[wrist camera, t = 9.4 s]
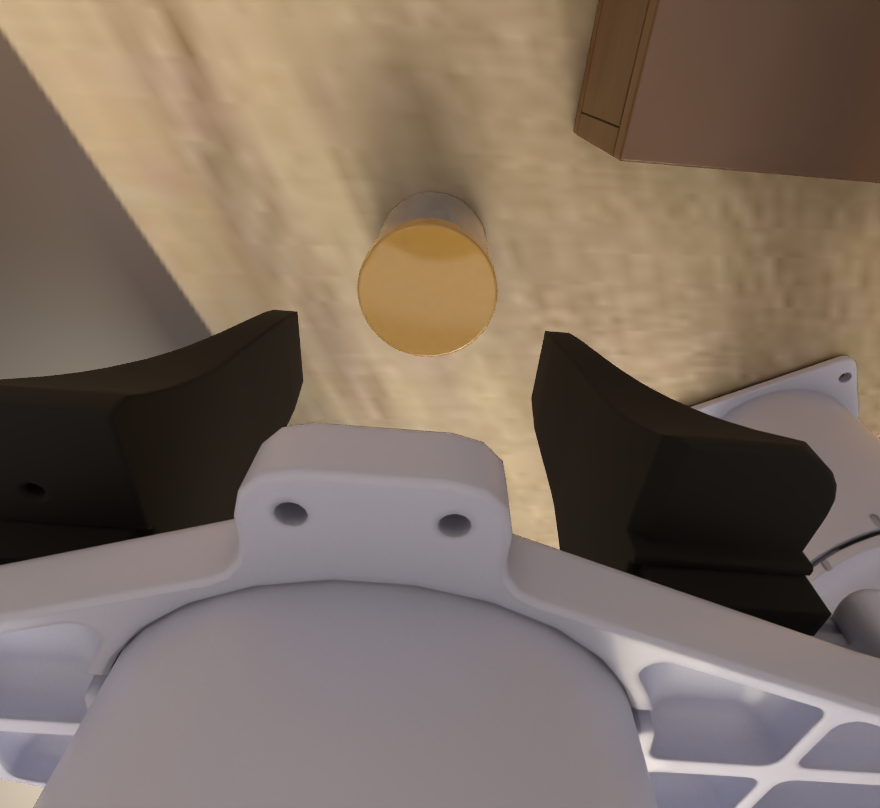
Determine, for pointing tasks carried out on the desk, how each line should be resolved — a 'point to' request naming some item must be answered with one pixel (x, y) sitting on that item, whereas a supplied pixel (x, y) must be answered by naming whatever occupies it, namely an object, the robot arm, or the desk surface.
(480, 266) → the tan grey cylinder
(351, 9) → the desk surface
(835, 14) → the cabinet
